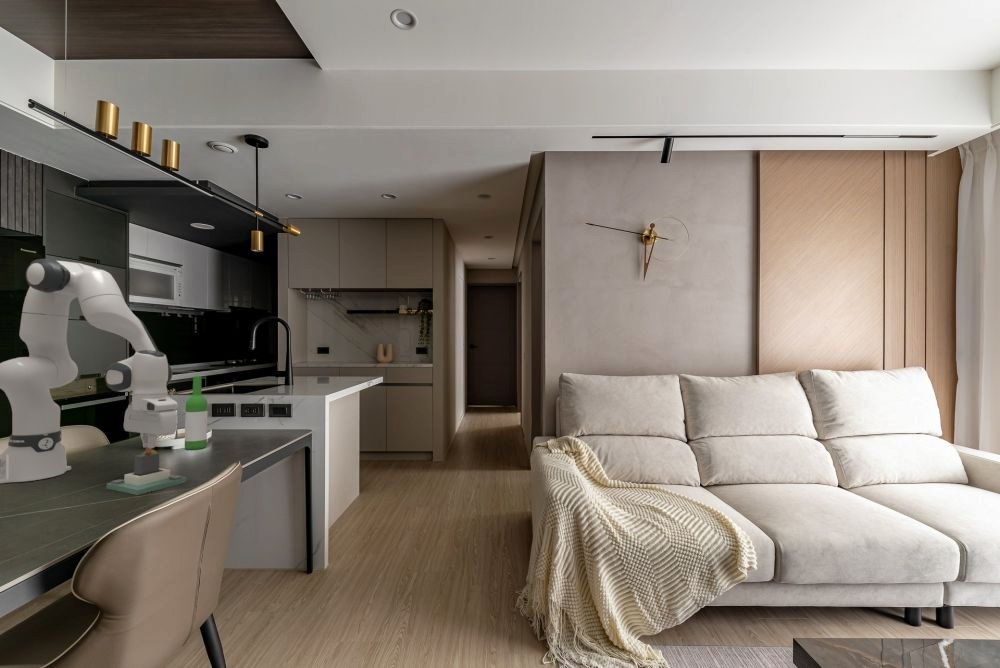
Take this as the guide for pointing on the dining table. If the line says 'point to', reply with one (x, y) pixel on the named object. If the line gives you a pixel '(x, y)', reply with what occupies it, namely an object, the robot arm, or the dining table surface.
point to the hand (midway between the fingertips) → (148, 447)
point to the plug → (146, 463)
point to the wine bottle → (196, 418)
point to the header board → (146, 482)
